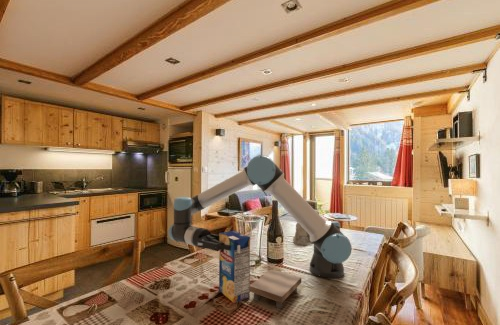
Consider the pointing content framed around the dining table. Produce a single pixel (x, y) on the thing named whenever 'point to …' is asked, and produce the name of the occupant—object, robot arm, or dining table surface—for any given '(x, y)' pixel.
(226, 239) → the beverage box
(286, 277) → the small low table
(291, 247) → the dining table surface
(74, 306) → the dining table surface
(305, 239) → the ceramic cottage
